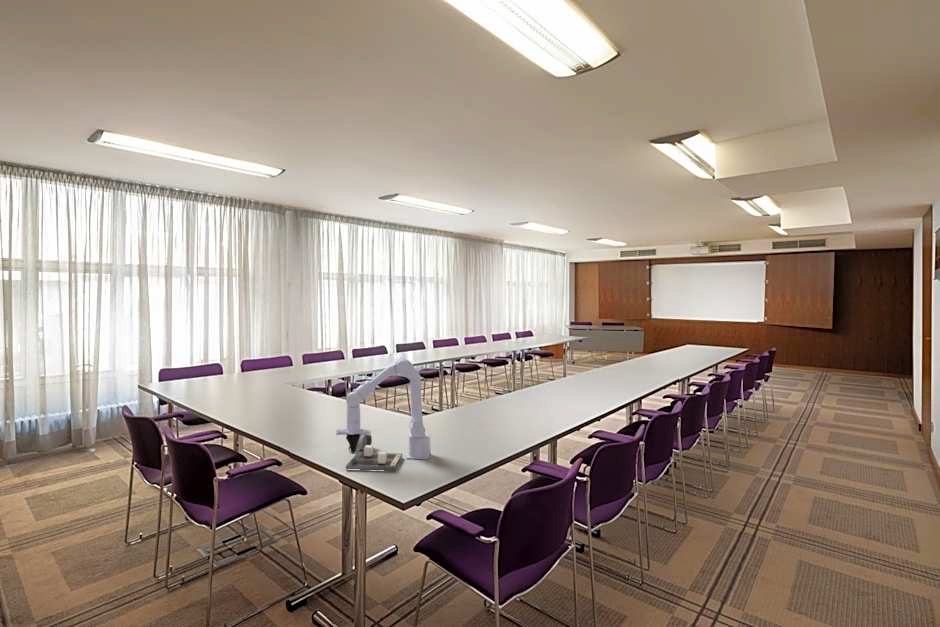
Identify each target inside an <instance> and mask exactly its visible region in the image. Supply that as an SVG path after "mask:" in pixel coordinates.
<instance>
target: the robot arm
mask: <svg viewBox="0 0 940 627" xmlns="http://www.w3.org/2000/svg"><path fill="white" fill-rule="evenodd" d="M397 374H398V375H400V376H403V377H406V378H407V380H409V385H410V409H411V412H410V413H411V414H410V415H411V416H410V423H409V426H408V427H409V430H410V433H409V435H408V455H407V456H406V459H408V460H409V459H410V460H428V459H429V457H430V456H431V436H428V435H427V436H426V428H425V426H424V421H423V409H422V408H423V407H422V383H421V381H422V380H421V374H420V373H419V371H418V370H417V369H416V368H415V366H414V365H413V363H412V362H411V361H410V360H408V359H406V358H403V357H400V358H397V359H396V361H394V362H392V363H391V364H389V365H388V366H386V367H385V368H384V369H383V370H382V371H381V372H380V373H378V374H377V375H376V376H375V377H374V378H372V379H371V380H363V381H362V382H361V384H360V385H359V386H358V387H356V388H353V389H352V391H351V392H349V393H348V394H347V396H346V400H345V401H346V428H344V429H343V428H341V429H338V428H337V430H336V436H339V435H345V436H346V437H345V439H346V440H347V442H348V444H349V446H350V448H351V449H350V450H351V452H355V451H356V447H357V443H358V440H359V438H360V436H361V435H367V436H370V435H371V433H372V431H371V430H372V429H364V428H361V408H360V407H361V406H360V403H361V401H363V400H365V399H367V398H368V397H369V396H370V395H371V394H373V393H374V392H375V391H376V387H377V386H378V385H379V384H381V383H382V382H383V381H385V380H386V379H387V378H389V377H390V376H397ZM351 452H350V453H351ZM355 453H356V452H355Z"/></svg>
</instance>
